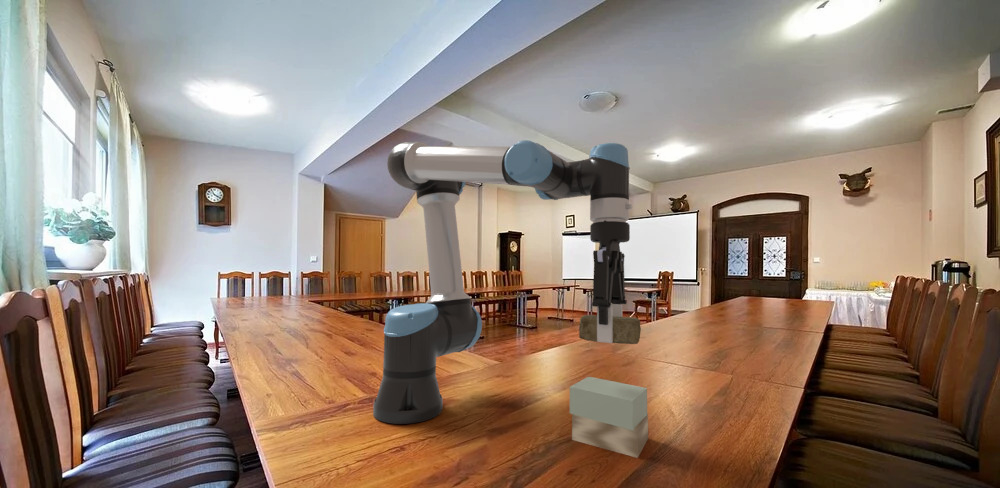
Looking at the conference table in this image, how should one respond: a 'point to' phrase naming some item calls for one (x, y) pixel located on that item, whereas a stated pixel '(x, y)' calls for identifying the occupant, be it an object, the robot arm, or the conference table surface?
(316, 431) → the conference table surface
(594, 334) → the stone block
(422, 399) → the robot arm
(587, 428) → the tower base
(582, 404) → the tower top
